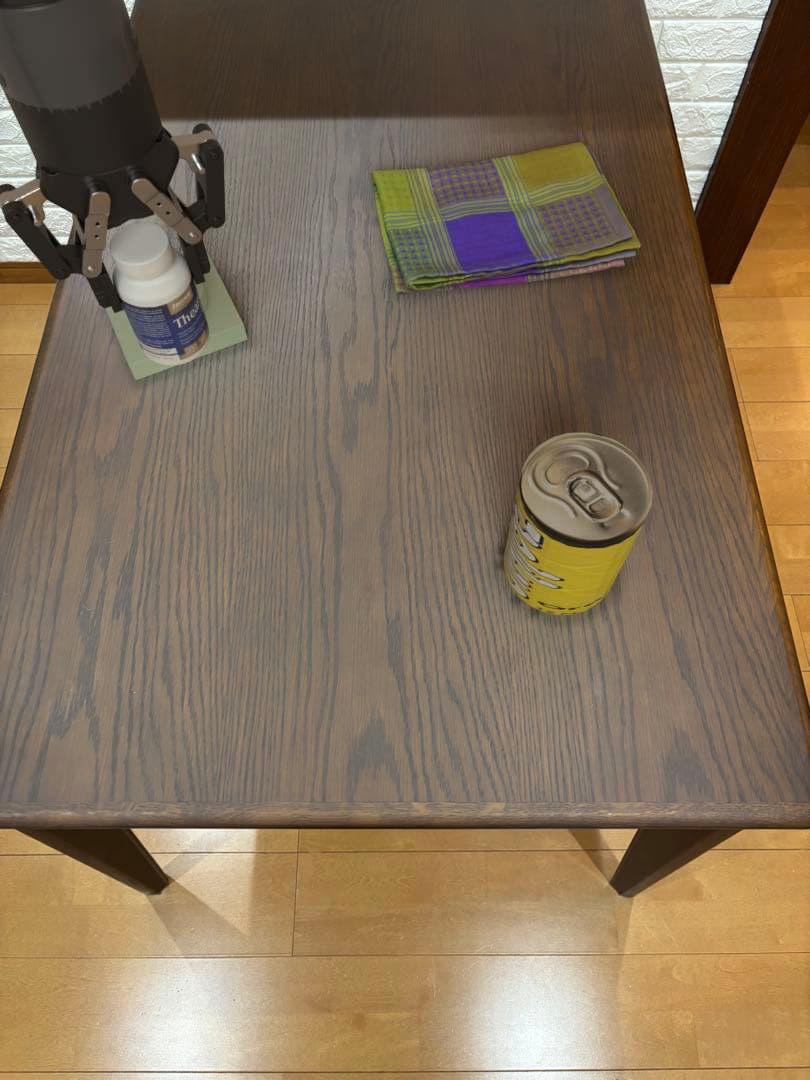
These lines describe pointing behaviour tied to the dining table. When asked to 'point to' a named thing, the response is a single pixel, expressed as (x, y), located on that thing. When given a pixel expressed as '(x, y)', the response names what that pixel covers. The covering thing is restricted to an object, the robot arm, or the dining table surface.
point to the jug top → (218, 314)
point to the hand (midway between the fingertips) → (156, 289)
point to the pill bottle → (158, 294)
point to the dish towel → (500, 220)
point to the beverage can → (574, 521)
